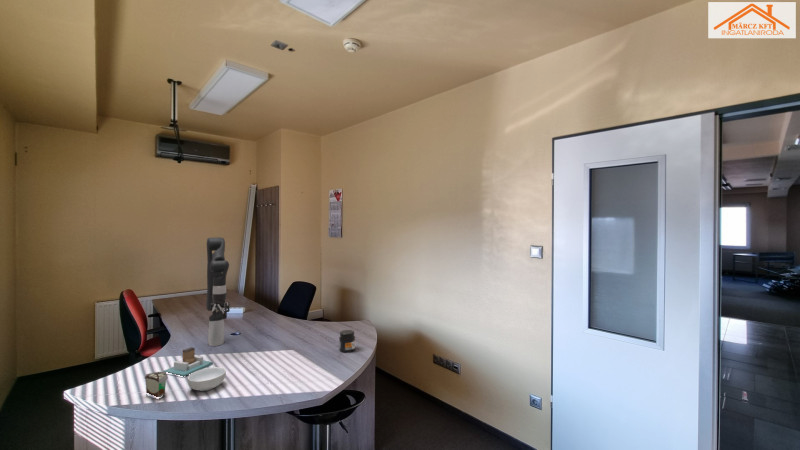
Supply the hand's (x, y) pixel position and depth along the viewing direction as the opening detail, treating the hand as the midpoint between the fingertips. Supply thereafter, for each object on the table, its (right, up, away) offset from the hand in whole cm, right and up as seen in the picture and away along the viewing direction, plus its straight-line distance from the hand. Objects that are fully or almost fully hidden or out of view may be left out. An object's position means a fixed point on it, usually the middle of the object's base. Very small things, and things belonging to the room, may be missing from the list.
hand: (219, 318), depth 202 cm
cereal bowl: (+15, -25, -38) cm, 48 cm away
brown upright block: (-9, -23, -16) cm, 30 cm away
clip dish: (-9, -25, -16) cm, 31 cm away
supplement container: (+79, -25, +11) cm, 83 cm away
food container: (-4, -25, -45) cm, 51 cm away
